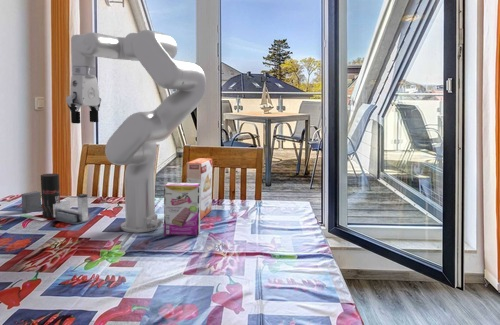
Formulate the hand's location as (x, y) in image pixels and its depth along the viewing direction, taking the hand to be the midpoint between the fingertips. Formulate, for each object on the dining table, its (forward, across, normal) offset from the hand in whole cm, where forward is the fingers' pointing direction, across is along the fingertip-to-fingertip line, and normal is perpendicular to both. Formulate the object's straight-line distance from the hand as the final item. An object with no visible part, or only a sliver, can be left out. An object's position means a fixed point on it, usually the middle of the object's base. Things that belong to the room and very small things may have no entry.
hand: (85, 122), depth 145 cm
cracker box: (+34, +16, -37) cm, 53 cm away
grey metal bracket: (+34, -5, +3) cm, 35 cm away
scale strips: (+34, -2, +13) cm, 37 cm away
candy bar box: (+34, -6, -40) cm, 53 cm away
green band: (+34, -1, +19) cm, 39 cm away
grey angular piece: (+34, -5, +3) cm, 35 cm away
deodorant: (+34, -2, +14) cm, 37 cm away
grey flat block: (+34, 0, +25) cm, 42 cm away
